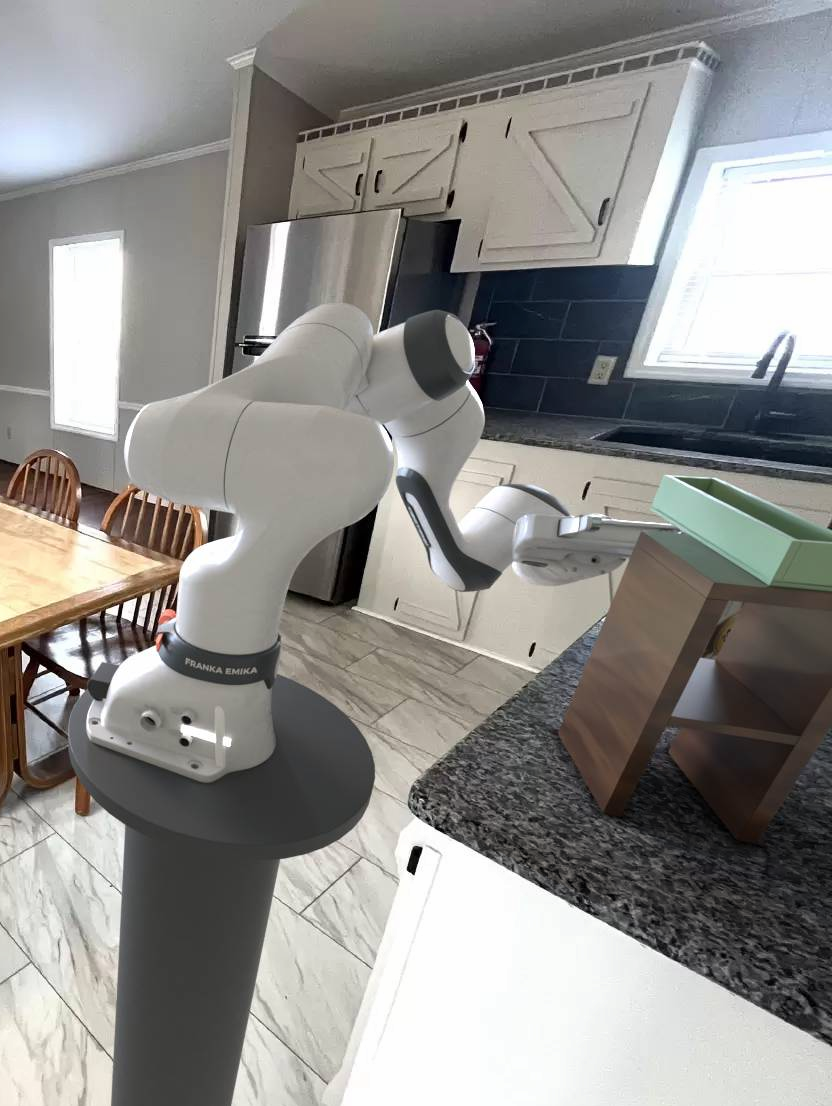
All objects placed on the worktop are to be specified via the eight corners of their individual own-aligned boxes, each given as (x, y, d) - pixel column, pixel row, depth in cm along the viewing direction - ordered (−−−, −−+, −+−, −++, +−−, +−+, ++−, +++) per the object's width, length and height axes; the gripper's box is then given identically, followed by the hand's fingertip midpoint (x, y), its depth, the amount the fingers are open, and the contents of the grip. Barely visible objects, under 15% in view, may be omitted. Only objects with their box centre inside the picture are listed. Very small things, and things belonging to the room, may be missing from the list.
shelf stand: (602, 813, 65) (714, 582, 54) (557, 733, 77) (641, 530, 65) (756, 844, 61) (912, 601, 50) (684, 755, 72) (796, 542, 61)
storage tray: (768, 585, 53) (792, 540, 51) (649, 509, 71) (663, 474, 69) (842, 593, 51) (869, 546, 50) (700, 513, 70) (716, 477, 68)
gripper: (676, 577, 86) (752, 561, 73) (498, 560, 92) (539, 542, 79) (682, 532, 86) (758, 507, 73) (504, 518, 93) (545, 493, 80)
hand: (642, 525), depth 76 cm, fingers open, 8 cm apart
